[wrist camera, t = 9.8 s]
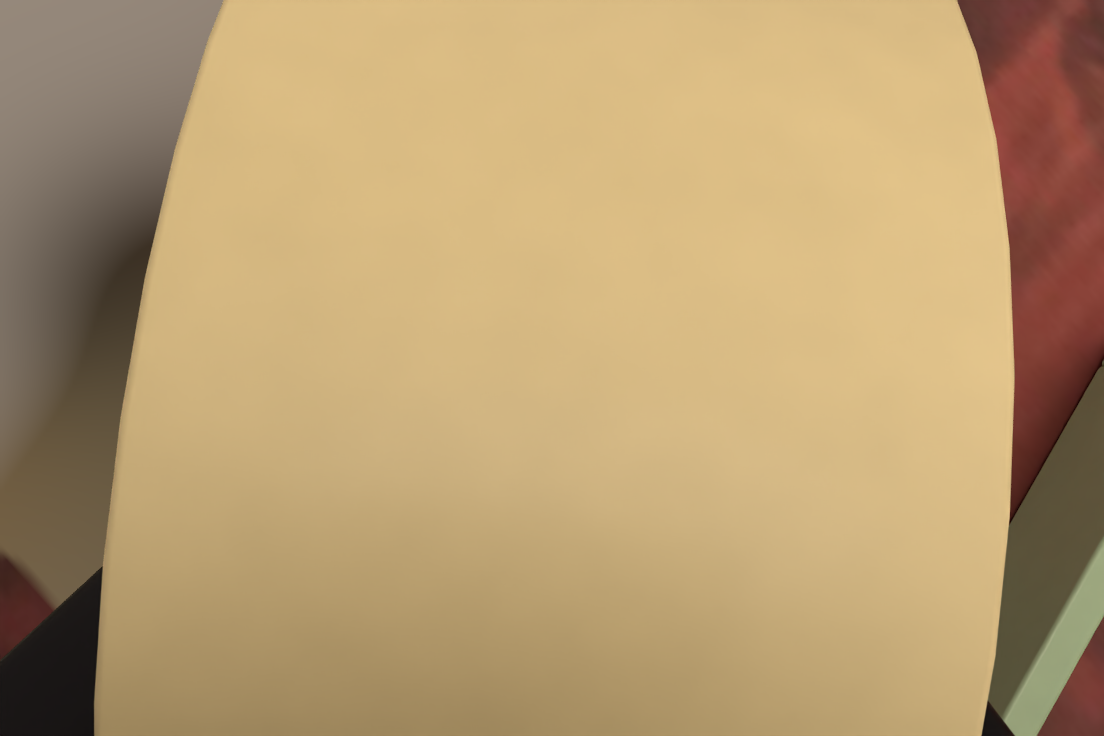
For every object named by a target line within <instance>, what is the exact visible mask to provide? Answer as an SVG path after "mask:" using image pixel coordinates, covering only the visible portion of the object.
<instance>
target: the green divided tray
mask: <svg viewBox="0 0 1104 736" xmlns="http://www.w3.org/2000/svg"><path fill="white" fill-rule="evenodd" d="M1103 616H1104V360H1103V361H1102V366H1101V367H1100V368H1099V369H1098V370H1097V372H1096V374H1095V376H1094V377H1093V379H1092V381H1091V383H1090V384H1089V386H1088V388H1087V390H1086V392H1085V393H1084V395H1083V397H1082V399H1081V400H1080V402H1079V404H1078V406H1077V407H1076V409H1075V411H1074V413H1073V414H1072V416H1071V418H1070V420H1069V421H1068V423H1067V425H1066V427H1065V428H1064V430H1063V432H1062V434H1061V435H1060V437H1059V439H1058V441H1057V442H1056V444H1055V446H1054V448H1053V449H1052V451H1051V453H1050V455H1049V456H1048V458H1047V460H1046V462H1045V463H1044V465H1043V467H1042V469H1041V470H1040V472H1039V474H1038V476H1037V477H1036V479H1035V481H1034V483H1033V484H1032V486H1031V488H1030V490H1029V491H1028V493H1027V495H1026V497H1025V499H1024V500H1023V502H1022V504H1021V506H1020V507H1019V509H1018V511H1017V513H1016V514H1015V516H1014V518H1013V520H1012V521H1011V523H1010V525H1009V528H1008V538H1007V548H1006V557H1005V567H1004V577H1003V587H1002V596H1001V606H1000V616H999V626H998V635H997V645H996V655H995V661H994V667H993V672H992V678H991V684H990V689H989V695H988V701H989V702H990V704H991V705H992V706H993V707H994V709H995V710H996V711H997V713H998V714H999V715H1000V717H1001V718H1002V719H1003V721H1004V722H1005V723H1006V724H1007V726H1008V727H1009V728H1010V730H1011V731H1012V732H1013V734H1014V735H1015V736H1037V734H1038V732H1039V731H1040V729H1041V727H1042V725H1043V723H1044V722H1045V720H1046V718H1047V716H1048V715H1049V713H1050V711H1051V709H1052V707H1053V706H1054V704H1055V702H1056V700H1057V698H1058V697H1059V695H1060V693H1061V691H1062V689H1063V688H1064V686H1065V684H1066V682H1067V681H1068V679H1069V677H1070V675H1071V673H1072V672H1073V670H1074V668H1075V666H1076V664H1077V663H1078V661H1079V659H1080V657H1081V656H1082V654H1083V652H1084V650H1085V648H1086V647H1087V645H1088V643H1089V641H1090V639H1091V638H1092V636H1093V634H1094V632H1095V631H1096V629H1097V627H1098V625H1099V623H1100V622H1101V620H1102V618H1103Z"/></svg>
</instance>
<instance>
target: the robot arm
mask: <svg viewBox="0 0 1104 736" xmlns="http://www.w3.org/2000/svg"><path fill="white" fill-rule="evenodd" d="M102 573H103V566H102V567H101V568H100V569H99V570H98V571H97V572H96V573H95V574H94V575H93V576H91V577H90V578H89V579H88V580H87V581H86V582H85V583H84V584H83V585H82V586H81V587H79V589H77V590H76V591H75V592H74V593H73V594H72V595H71V596H70V597H69V598H68V599H66V601H64V602H63V603H62V604H61V605H60V606H59V607H58V608H57V609H56V610H54V611H53V612H52V613H51V614H50V615H49V616H48V617H47V618H46V619H45V620H44V621H42V622H41V623H40V624H39V625H38V626H37V627H36V628H35V629H34V630H33V631H32V632H31V633H29V634H28V635H27V636H26V637H25V638H24V639H23V640H22V641H21V642H20V643H19V644H17V645H16V646H15V647H14V648H13V649H12V650H11V651H10V652H9V653H8V654H7V655H5V656H4V657H3V658H2V659H1V660H0V736H94V698H95V682H96V667H97V651H98V635H99V620H100V604H101V589H102ZM981 736H1015V735H1014V734H1013V732H1012V731H1011V730H1010V728H1009V727H1008V726H1007V724H1006V723H1005V722H1004V721H1003V719H1002V718H1001V717H1000V715H999V714H998V713H997V711H996V710H995V709H994V707H993V706H992V705H991V704H990V702H989V701H987V706H986V712H985V718H984V723H983V729H982V735H981Z"/></svg>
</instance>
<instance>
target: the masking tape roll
mask: <svg viewBox="0 0 1104 736" xmlns="http://www.w3.org/2000/svg"><path fill="white" fill-rule="evenodd" d="M1013 405H1014V350H1013V325H1012V300H1011V274H1010V249H1009V240H1008V232H1007V224H1006V215H1005V207H1004V199H1003V191H1002V183H1001V175H1000V166H999V158H998V150H997V142H996V136H995V132H994V127H993V123H992V119H991V114H990V110H989V105H988V101H987V97H986V92H985V88H984V83H983V79H982V75H981V70H980V66H979V61H978V57H977V53H976V50H975V47H974V45H973V42H972V40H971V37H970V34H969V32H968V29H967V26H966V24H965V21H964V18H963V16H962V13H961V10H960V8H959V5H958V2H957V0H224V1H223V3H222V6H221V9H220V11H219V14H218V16H217V19H216V21H215V24H214V26H213V29H212V31H211V34H210V37H209V39H208V42H207V45H206V48H205V51H204V55H203V58H202V62H201V65H200V68H199V71H198V75H197V78H196V81H195V84H194V88H193V91H192V94H191V98H190V101H189V104H188V108H187V111H186V115H185V117H184V121H183V124H182V127H181V131H180V134H179V138H178V141H177V144H176V147H175V151H174V156H173V160H172V165H171V168H170V173H169V177H168V182H167V186H166V190H165V194H164V198H163V203H162V207H161V211H160V216H159V220H158V224H157V229H156V233H155V237H154V241H153V246H152V250H151V254H150V259H149V263H148V267H147V271H146V276H145V281H144V286H143V293H142V298H141V304H140V310H139V315H138V321H137V326H136V332H135V338H134V344H133V349H132V355H131V361H130V367H129V372H128V378H127V384H126V389H125V395H124V401H123V406H122V412H121V418H120V427H119V435H118V443H117V451H116V460H115V468H114V477H113V485H112V493H111V502H110V510H109V518H108V526H107V535H106V543H105V551H104V560H103V573H102V589H101V604H100V620H99V635H98V651H97V667H96V682H95V698H94V736H981V735H982V729H983V723H984V718H985V712H986V706H987V701H988V695H989V689H990V684H991V678H992V672H993V667H994V661H995V655H996V645H997V635H998V626H999V616H1000V606H1001V596H1002V587H1003V577H1004V567H1005V557H1006V548H1007V538H1008V528H1009V518H1010V496H1011V466H1012V436H1013Z"/></svg>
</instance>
